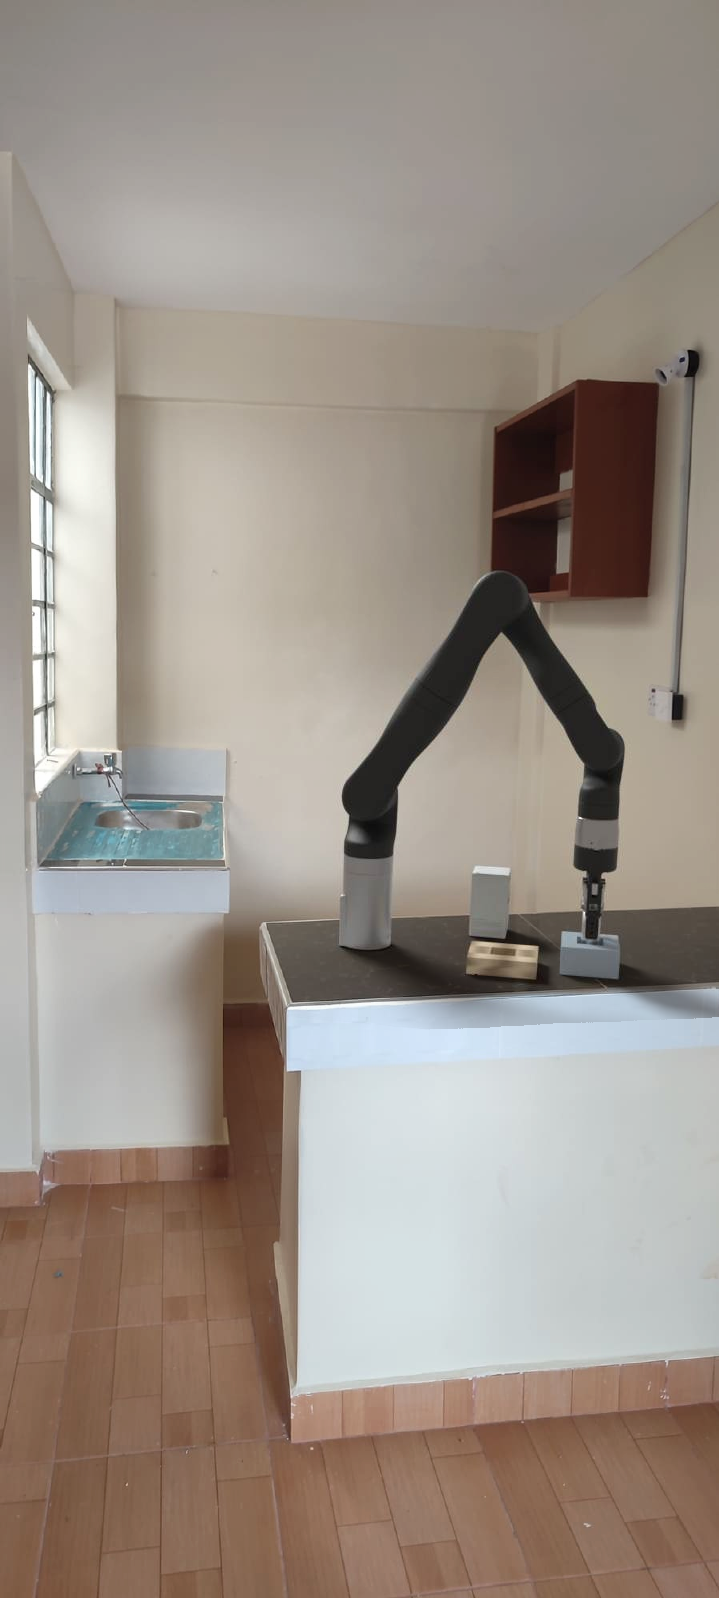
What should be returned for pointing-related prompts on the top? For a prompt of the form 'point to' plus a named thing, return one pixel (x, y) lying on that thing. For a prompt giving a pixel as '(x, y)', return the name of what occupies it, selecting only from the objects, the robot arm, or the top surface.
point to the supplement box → (489, 901)
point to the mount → (502, 960)
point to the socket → (589, 956)
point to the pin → (583, 939)
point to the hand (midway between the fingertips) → (590, 932)
